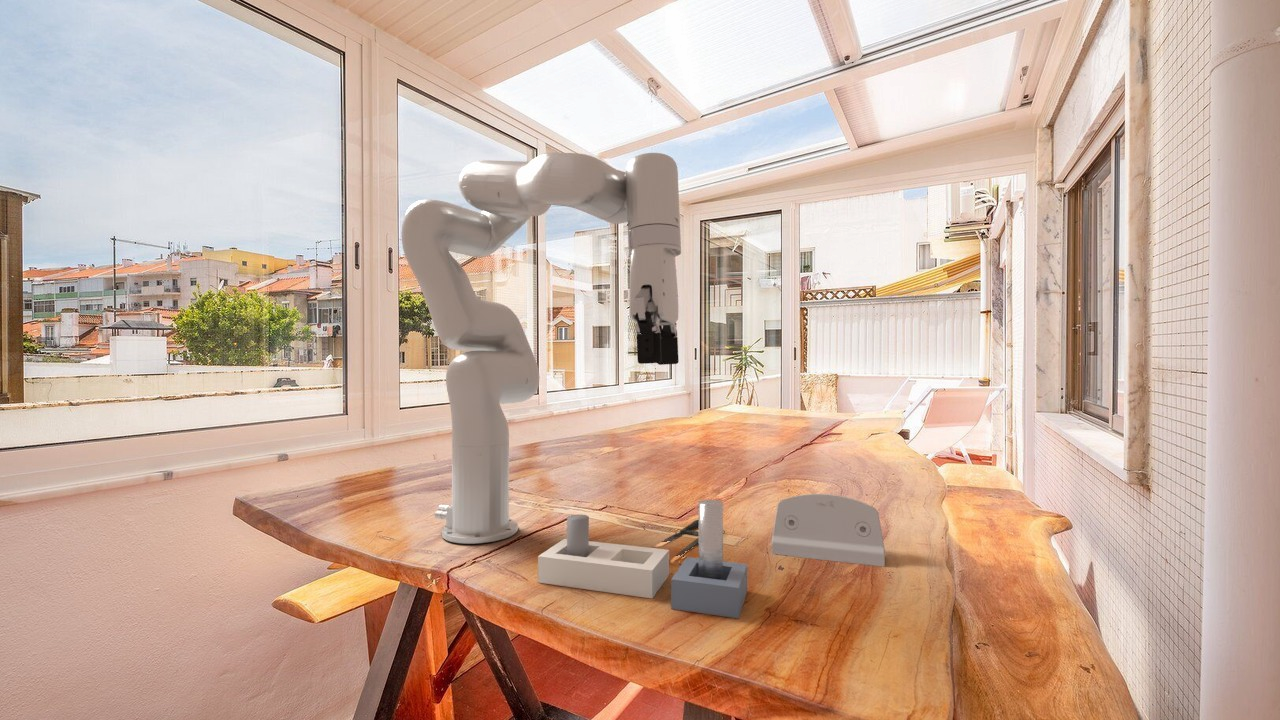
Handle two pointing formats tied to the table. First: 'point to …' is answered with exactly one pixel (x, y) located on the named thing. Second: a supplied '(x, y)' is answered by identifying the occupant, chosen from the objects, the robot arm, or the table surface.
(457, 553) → the table surface
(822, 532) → the grey wall bracket
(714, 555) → the grey peg
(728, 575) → the socket block
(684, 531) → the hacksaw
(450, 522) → the robot arm
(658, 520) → the table surface
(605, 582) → the rack
